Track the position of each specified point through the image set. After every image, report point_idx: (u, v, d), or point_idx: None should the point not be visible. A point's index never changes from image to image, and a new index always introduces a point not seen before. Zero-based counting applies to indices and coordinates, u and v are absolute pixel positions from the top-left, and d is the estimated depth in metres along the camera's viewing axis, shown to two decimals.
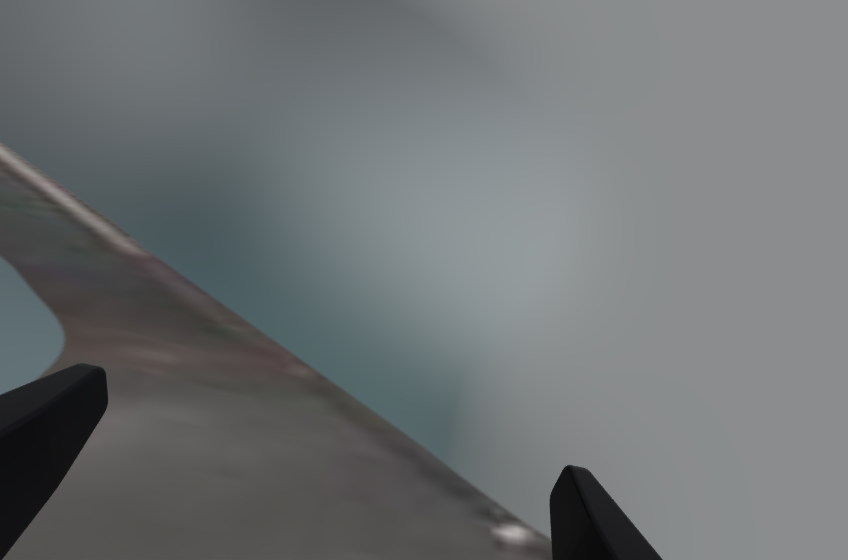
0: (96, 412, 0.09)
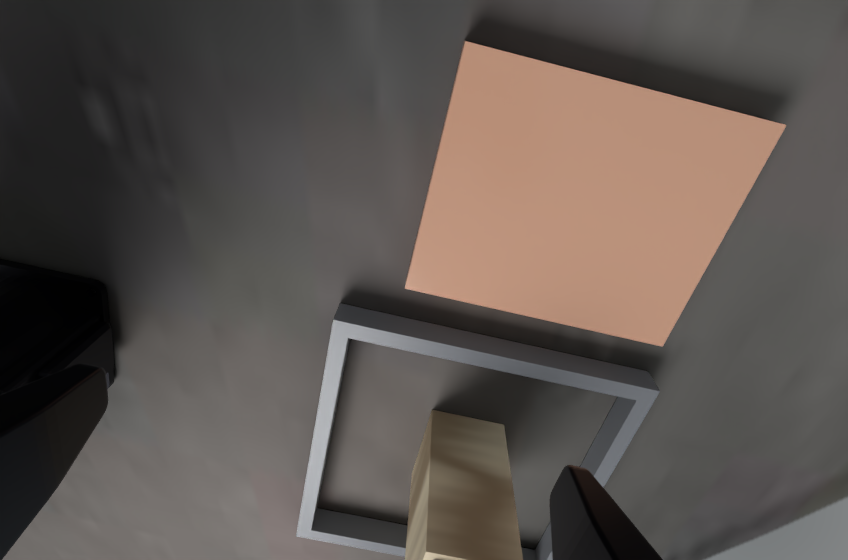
0: (96, 412, 0.09)
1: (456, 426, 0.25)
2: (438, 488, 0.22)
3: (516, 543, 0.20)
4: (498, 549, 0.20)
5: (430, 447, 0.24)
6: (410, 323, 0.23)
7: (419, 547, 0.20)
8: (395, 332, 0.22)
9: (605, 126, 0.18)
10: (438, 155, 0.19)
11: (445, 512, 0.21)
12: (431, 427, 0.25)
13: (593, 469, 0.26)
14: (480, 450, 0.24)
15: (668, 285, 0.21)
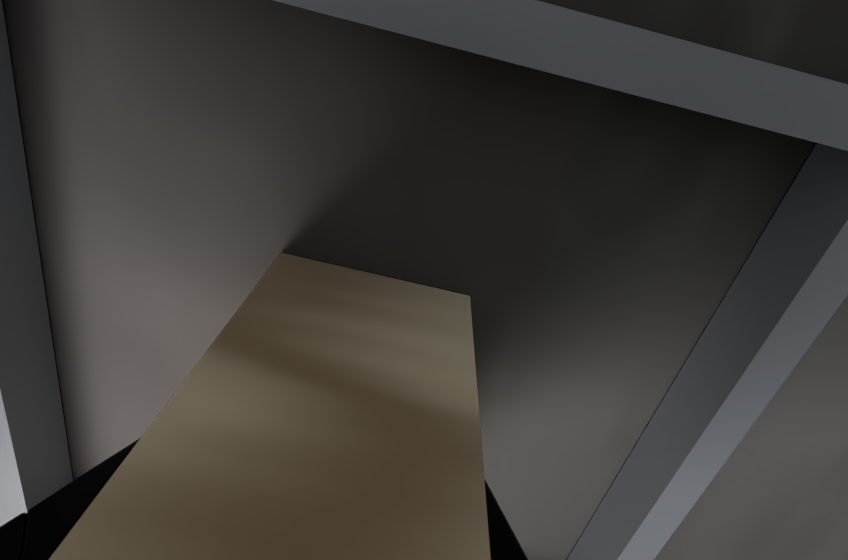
0: None
1: (336, 286, 0.09)
2: (187, 436, 0.06)
3: None
4: None
5: (231, 323, 0.08)
6: None
7: None
8: None
9: None
10: None
11: (165, 531, 0.05)
12: (260, 284, 0.09)
13: (703, 407, 0.10)
14: (393, 340, 0.08)
15: None
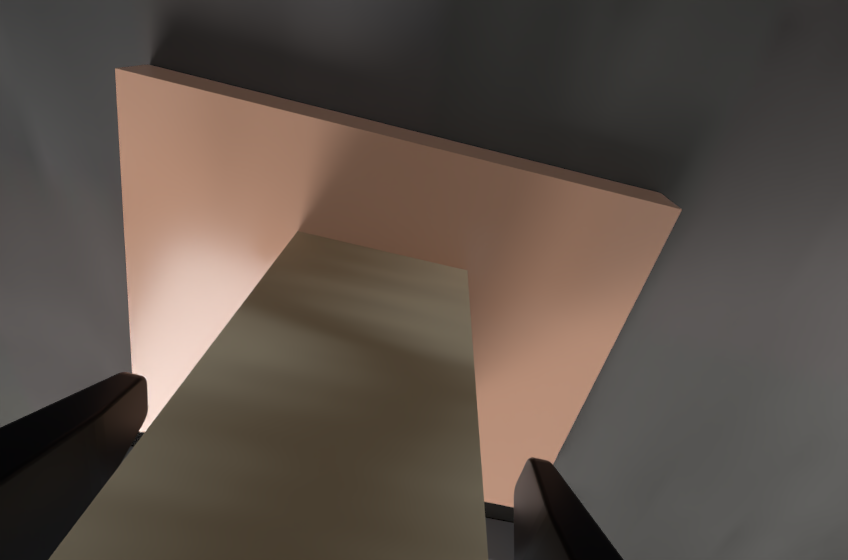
0: (137, 420, 0.09)
1: (347, 259, 0.10)
2: (229, 370, 0.07)
3: (470, 549, 0.05)
4: None
5: (257, 287, 0.09)
6: None
7: None
8: None
9: (383, 208, 0.11)
10: (126, 249, 0.11)
11: (219, 435, 0.06)
12: (281, 256, 0.10)
13: None
14: (398, 304, 0.09)
15: (525, 434, 0.14)
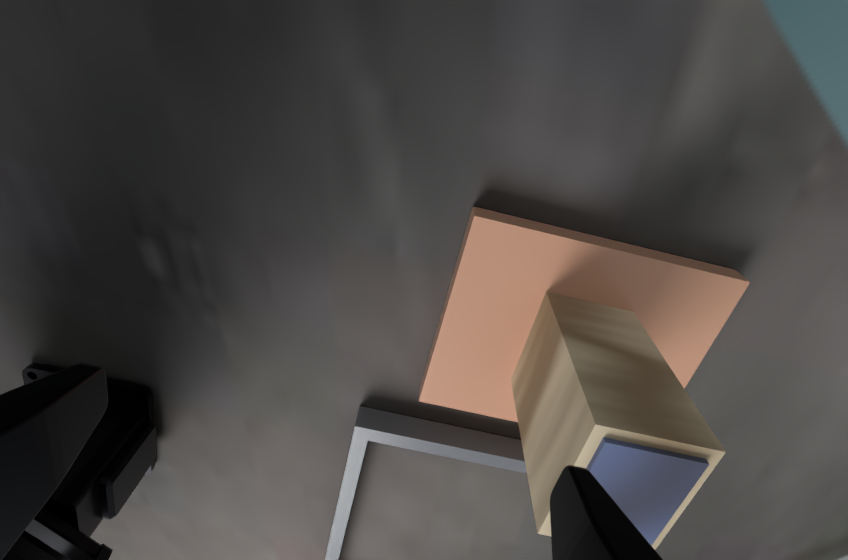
0: (96, 412, 0.09)
1: (580, 308, 0.20)
2: (584, 363, 0.17)
3: (702, 423, 0.15)
4: (683, 428, 0.15)
5: (557, 325, 0.19)
6: (422, 424, 0.26)
7: (569, 431, 0.16)
8: (410, 436, 0.25)
9: (594, 280, 0.21)
10: (450, 300, 0.21)
11: (602, 386, 0.16)
12: (551, 307, 0.20)
13: None
14: (618, 331, 0.19)
15: None
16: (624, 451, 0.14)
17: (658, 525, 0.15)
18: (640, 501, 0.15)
